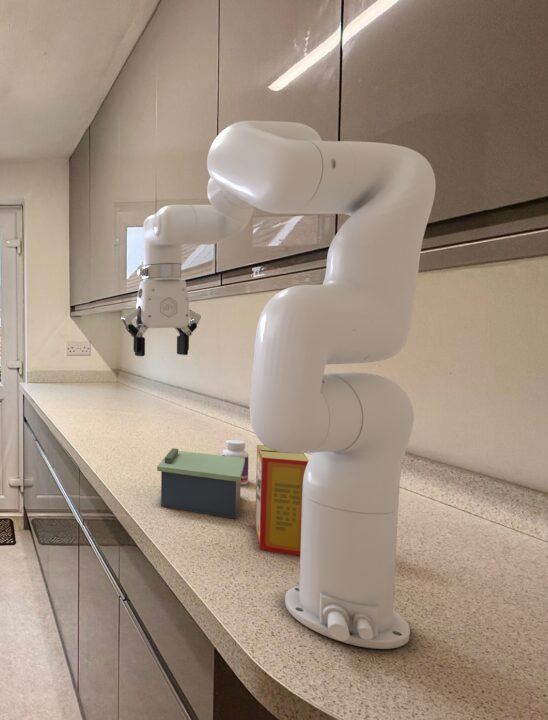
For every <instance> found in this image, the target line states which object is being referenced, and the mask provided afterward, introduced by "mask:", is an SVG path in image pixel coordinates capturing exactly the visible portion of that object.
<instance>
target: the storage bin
mask: <svg viewBox="0 0 548 720" xmlns="http://www.w3.org/2000/svg"><path fill="white" fill-rule="evenodd" d="M160 472H161V473H160V474H161V475H160V476H161V477H160V478H161V479H160V483H161V484H160V495H161V496H160V506H161V507H162V508H169V509H175V510H180V511H181V510H182V511H187V512H194V513H199V514H205V515H210V516H216V517H222V518H227V519H234V520H235V519H236V517H237V514H238V510H239V505H240V501H241V486H242V485H241V480H240V482H235V481H228V480H221V479H213V478H206V477H199V476H191V475H184V474H177V473H169V472H162V471H160Z"/></svg>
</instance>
